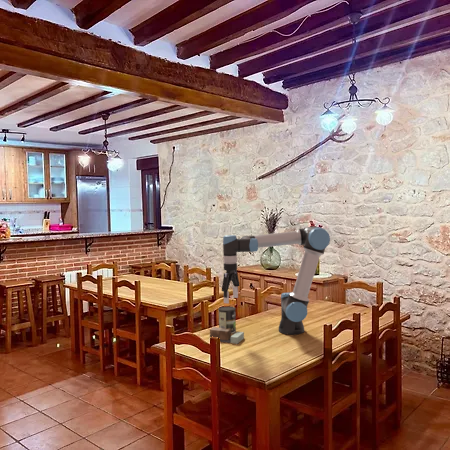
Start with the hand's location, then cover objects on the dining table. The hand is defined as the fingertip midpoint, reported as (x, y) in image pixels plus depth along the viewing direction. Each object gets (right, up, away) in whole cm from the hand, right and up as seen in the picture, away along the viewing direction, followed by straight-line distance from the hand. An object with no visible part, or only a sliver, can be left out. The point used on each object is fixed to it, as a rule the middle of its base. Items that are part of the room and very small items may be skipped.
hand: (231, 300), depth 244 cm
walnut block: (-1, -20, +2) cm, 20 cm away
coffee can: (-2, -22, +17) cm, 28 cm away
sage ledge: (+4, -23, 0) cm, 23 cm away
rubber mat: (-4, -23, +3) cm, 23 cm away
